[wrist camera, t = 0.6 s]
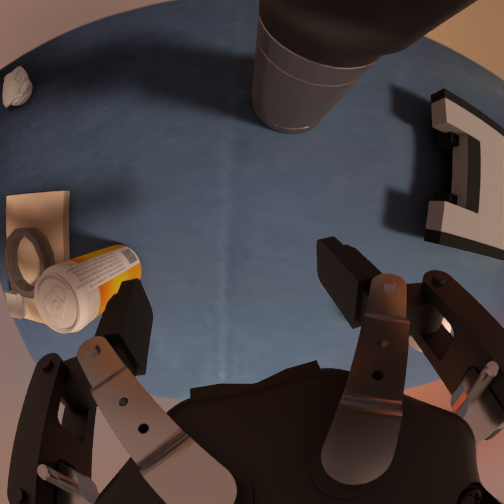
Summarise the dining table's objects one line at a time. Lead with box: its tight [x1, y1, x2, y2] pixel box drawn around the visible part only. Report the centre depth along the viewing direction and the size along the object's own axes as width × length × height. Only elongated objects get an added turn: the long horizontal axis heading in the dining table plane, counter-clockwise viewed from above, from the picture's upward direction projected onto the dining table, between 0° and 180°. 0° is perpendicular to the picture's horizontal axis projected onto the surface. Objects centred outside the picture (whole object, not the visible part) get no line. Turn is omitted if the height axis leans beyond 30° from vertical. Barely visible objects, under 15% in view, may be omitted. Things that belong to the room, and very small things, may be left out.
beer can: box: [34, 244, 141, 333], centre depth 25 cm, size 6×6×15 cm
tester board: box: [4, 191, 70, 324], centre depth 30 cm, size 20×14×4 cm
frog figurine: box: [2, 66, 33, 108], centre depth 24 cm, size 6×7×7 cm
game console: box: [424, 89, 504, 260], centre depth 28 cm, size 21×32×8 cm, turn 82°
